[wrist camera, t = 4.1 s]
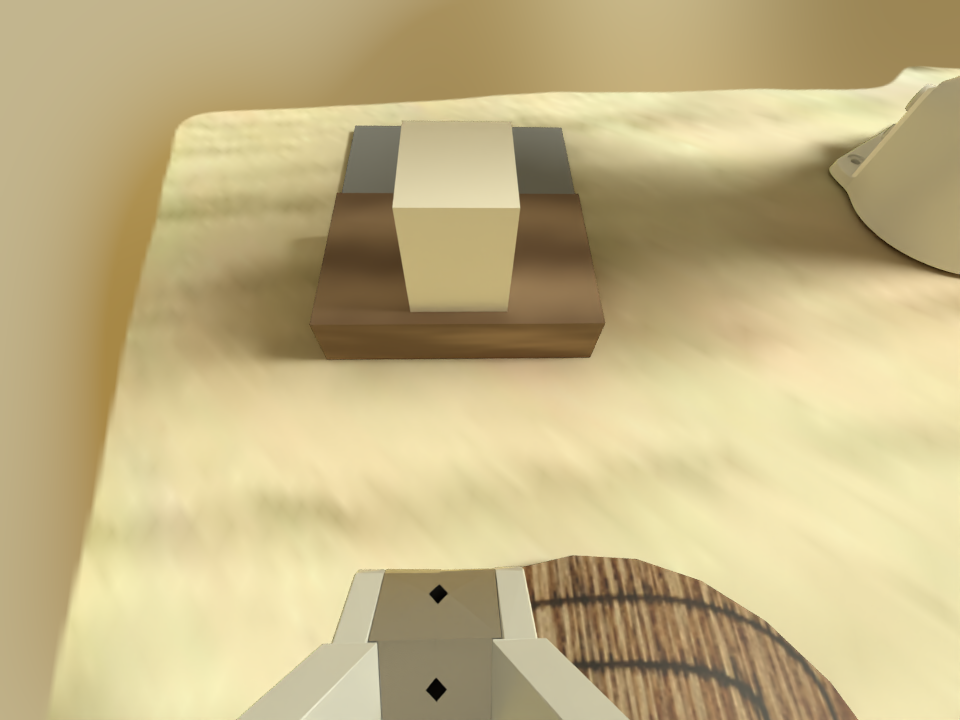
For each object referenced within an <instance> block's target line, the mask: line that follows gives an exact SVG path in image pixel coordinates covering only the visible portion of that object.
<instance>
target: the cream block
mask: <svg viewBox="0 0 960 720" xmlns="http://www.w3.org/2000/svg"><path fill="white" fill-rule="evenodd" d="M392 209H393V214H394V220H395V226H396V232H397V237H398V243H399V249H400V255H401V260H402V266H403V272H404V278H405V283H406V289H407V295H408V301H409V306H410V312H503V311H507V309H508V301H509V293H510V285H511V277H512V270H513V262H514V254H515V246H516V238H517V230H518V222H519V214H520V201H519V191H518V182H517V172H516V163H515V153H514V144H513V134H512V124H511V122H492V121H402V125H401V134H400V143H399V152H398V161H397V170H396V179H395V188H394V197H393V206H392Z"/></svg>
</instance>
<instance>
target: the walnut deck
mask: <svg viewBox="0 0 960 720" xmlns="http://www.w3.org/2000/svg"><path fill="white" fill-rule="evenodd" d="M393 197H394V193H337V196H336V201H335V206H334V210H333V215H332V220H331V225H330V230H329V234H328V239H327V244H326V249H325V254H324V258H323V263H322V268H321V273H320V278H319V282H318V287H317V292H316V297H315V302H314V306H313V311H312V316H311V321H310V327H311V329H312V331H313V333H314V335H315V337H316V338H317V340H318V342H319V344H320V346H321V348H322V350H323V352H324V354H325V356H326V358H327V359H437V358H559V357H590V356H591V354H592V352H593V349H594V347H595V345H596V343H597V340H598V338H599V336H600V334H601V331H602V329H603V327H604V325H605V320H604V316H603V311H602V306H601V301H600V296H599V291H598V287H597V282H596V277H595V272H594V267H593V262H592V258H591V253H590V248H589V243H588V238H587V233H586V229H585V224H584V219H583V214H582V209H581V204H580V200H579V195H578V194H519V201H520V214H519V222H518V230H517V238H516V246H515V254H514V262H513V270H512V277H511V285H510V293H509V301H508V309H507V311H503V312H410V306H409V301H408V295H407V289H406V283H405V278H404V272H403V266H402V260H401V255H400V249H399V243H398V237H397V232H396V226H395V220H394V214H393V209H392V206H393Z"/></svg>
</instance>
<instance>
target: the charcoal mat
mask: <svg viewBox="0 0 960 720" xmlns="http://www.w3.org/2000/svg"><path fill="white" fill-rule="evenodd" d="M400 134H401V126H355V130H354V135H353V140H352V145H351V150H350V155H349V160H348V165H347V170H346V175H345V180H344V185H343V190H342V193H394V188H395V179H396V170H397V161H398V152H399V143H400ZM512 134H513V144H514V153H515V163H516V172H517V182H518V191H519V194H575V193H574V188H573V183H572V178H571V173H570V168H569V163H568V158H567V153H566V148H565V143H564V138H563V133H562V128H540V127H512Z"/></svg>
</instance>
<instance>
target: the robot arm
mask: <svg viewBox="0 0 960 720" xmlns="http://www.w3.org/2000/svg"><path fill="white" fill-rule="evenodd" d="M905 109H906V111H907V112H906V113H905V115H904V116H903V117H902V118H901V119H900V120H899V121H898V123H896V124H893V125H892V126H891V127H889V128H888V129H886V130H885V131H883V132H881V133H880V134H878V135H876V136H875V137H873V138H871V139H870V140H868V141H866V142H865V143H863V144H861V145H860V146H858V147H856V148H855V149H853V150H852V151H850V152H848V153H847V154H845V155H843V156H842V157H840V158H838V159H837V160H836V161H835V162H834V163H833V165H832V166H831V167H830V168H829V171H830V173H831V175H832V176H833V177H834V178H835V180H836V181H837V182H838V183H839V184H840V185H841V186H842V187H843V188H844V189H845V190H846V191H847V193H848V195H849V197H850V200H851V203H852V205H853V207H854V209H855V211H856V212H857V214H858V215H859V217H860V218H861V219H862V221H863V222H864V223H865V224H866V225H867V226H868V227H869V228H870V229H871V230H872V231H873V232H874V233H875V234H876V235H878V236H879V237H880V238H881V239H883V240H884V241H885V242H887V243H888V244H890V245H891V246H893V247H894V248H896V249H897V250H899V251H901V252H903V253H904V254H906V255H908V256H910V257H912V258H914V259H916V260H918V261H920V262H923V263H925V264H927V265H930V266H933V267H935V268H938V269H941V270H945V271H948V272H952V273H956V274H960V76H958V77H956V78H953V79H949V80H946V81H944V82H942V83H941V84H939V85H938V86H935V85H933V84H926V85H925V86H924V87H923V88H922V89H921V90H920V91H919V92H918V93H917V94H916V95H915V96H914V97H913V98H912V99H911V101H910V102H909V103H908V105H907V106H906V108H905ZM236 720H629V719H628V718H627V717H626V716H625V715H624V714H623V713H622V712H621V711H620V710H619V709H618V708H617V707H616V706H615V705H614V704H613V703H612V702H611V701H610V700H609V699H608V698H607V697H606V696H605V695H604V694H603V693H602V692H601V691H600V690H599V689H598V688H597V687H596V686H595V685H594V684H593V683H592V682H591V681H590V680H589V679H588V678H586V677H585V676H584V675H583V674H582V673H581V672H580V671H579V670H578V669H577V668H576V667H575V666H574V665H573V664H572V663H571V662H570V661H569V660H568V659H567V658H566V657H565V656H564V655H563V654H562V653H561V652H560V651H559V650H558V649H557V648H556V647H555V646H554V645H553V644H552V643H551V642H550V641H549V640H548V639H547V638H537V633H536V628H535V623H534V618H533V613H532V608H531V603H530V598H529V593H528V588H527V583H526V578H525V573H524V569H523V568H522V567H521V566H515V567H495V569H494V568H492V569H452V570H441V569H387V570H384V569H381V570H358V571H357V573H356V574H355V575H354V578H353V581H352V583H351V586H350V589H349V592H348V595H347V598H346V601H345V604H344V607H343V610H342V613H341V616H340V619H339V622H338V625H337V628H336V631H335V634H334V637H333V640H332V643H331V644H322V645H320V646H319V647H318V648H317V649H316V650H315V651H314V652H313V653H311V654H310V655H309V656H308V657H307V658H306V659H305V660H303V661H302V662H301V663H300V664H299V665H298V666H297V667H295V668H294V669H293V670H292V671H291V672H290V673H289V674H287V675H286V676H285V677H284V678H283V679H282V680H281V681H280V682H278V683H277V684H276V685H275V686H274V687H273V688H272V689H270V690H269V691H268V692H267V693H266V694H265V695H264V696H262V697H261V698H260V699H259V700H258V701H257V702H256V703H254V704H253V705H252V706H251V707H250V708H249V709H248V710H247V711H245V712H244V713H243V714H242V715H241V716H240V717H239V718H237V719H236Z"/></svg>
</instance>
